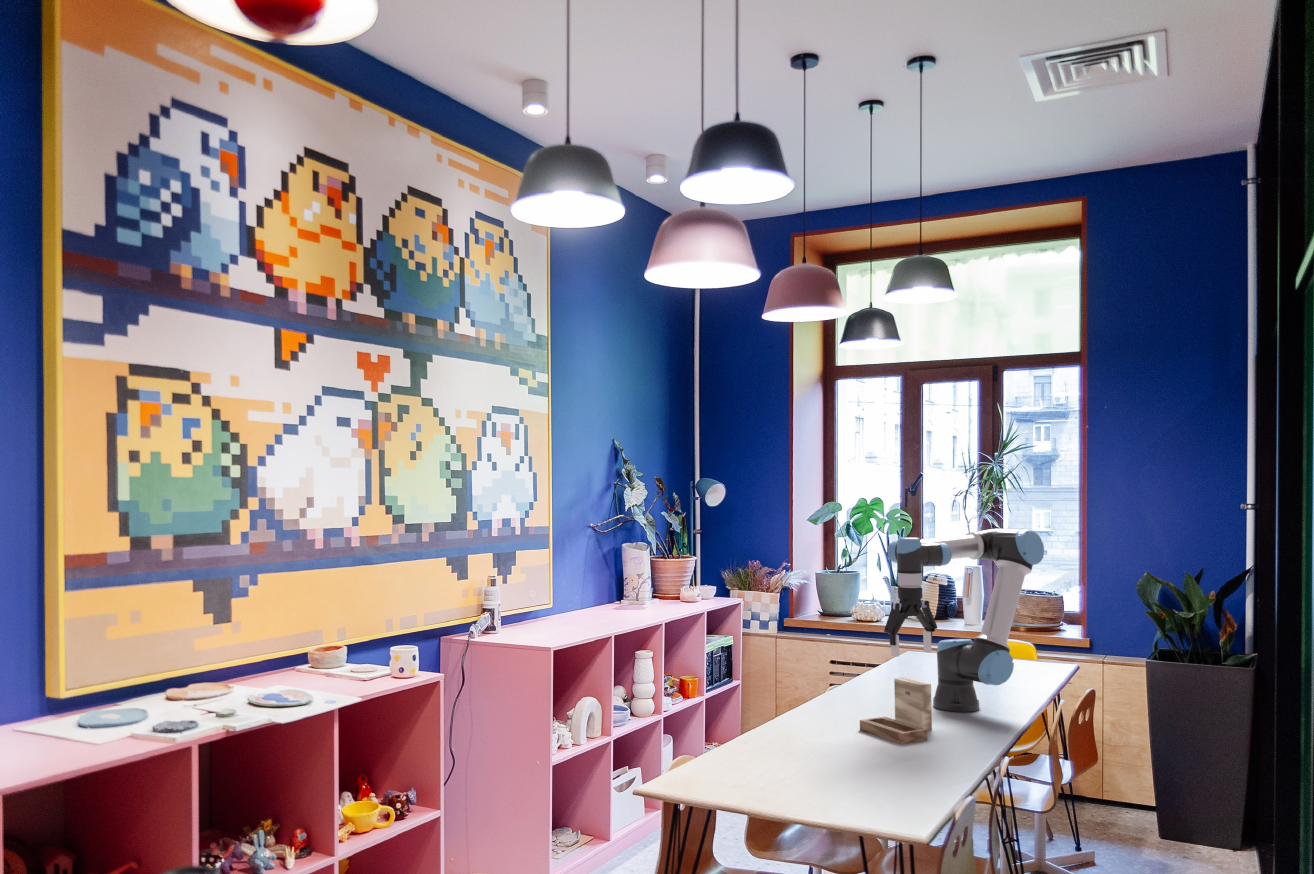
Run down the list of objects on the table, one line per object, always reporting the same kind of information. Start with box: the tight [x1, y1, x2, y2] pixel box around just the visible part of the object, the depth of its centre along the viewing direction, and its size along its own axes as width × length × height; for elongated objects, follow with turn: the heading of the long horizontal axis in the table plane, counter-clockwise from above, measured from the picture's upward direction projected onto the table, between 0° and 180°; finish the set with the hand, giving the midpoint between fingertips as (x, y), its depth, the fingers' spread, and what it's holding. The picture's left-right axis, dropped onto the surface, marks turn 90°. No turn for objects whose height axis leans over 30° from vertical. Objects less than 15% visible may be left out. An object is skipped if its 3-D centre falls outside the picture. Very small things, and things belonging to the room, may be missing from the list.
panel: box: [893, 676, 933, 732], centre depth 288 cm, size 4×12×14 cm, turn 28°
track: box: [859, 716, 928, 745], centre depth 277 cm, size 10×18×3 cm, turn 28°
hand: (911, 653), depth 289 cm, fingers open, 13 cm apart
